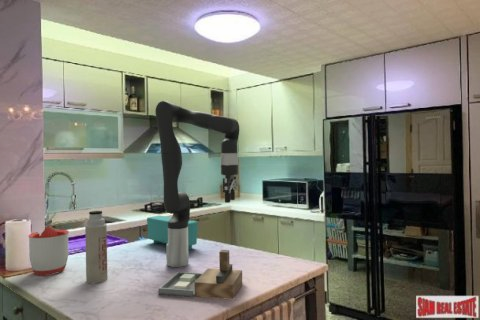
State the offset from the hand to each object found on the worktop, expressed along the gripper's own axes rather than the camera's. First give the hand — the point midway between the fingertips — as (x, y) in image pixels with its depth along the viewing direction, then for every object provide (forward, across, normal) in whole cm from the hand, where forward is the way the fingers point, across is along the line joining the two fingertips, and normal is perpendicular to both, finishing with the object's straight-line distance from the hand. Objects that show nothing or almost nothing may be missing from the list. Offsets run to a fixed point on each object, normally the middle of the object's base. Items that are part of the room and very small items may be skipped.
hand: (230, 201), depth 150 cm
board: (+30, +22, +1) cm, 37 cm away
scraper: (+25, +22, +3) cm, 34 cm away
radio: (+30, -35, -43) cm, 63 cm away
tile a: (+27, +26, -12) cm, 40 cm away
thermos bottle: (+30, +21, -51) cm, 63 cm away
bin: (+30, +22, -13) cm, 39 cm away
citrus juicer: (+30, +15, -79) cm, 86 cm away
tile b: (+27, +18, -13) cm, 35 cm away
